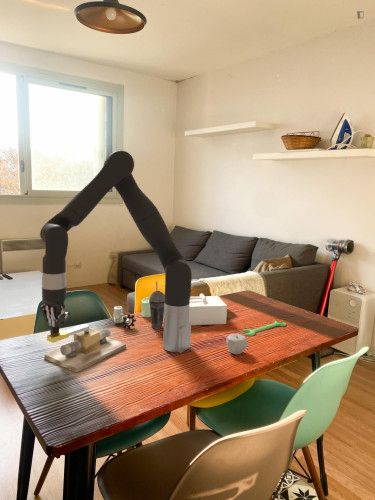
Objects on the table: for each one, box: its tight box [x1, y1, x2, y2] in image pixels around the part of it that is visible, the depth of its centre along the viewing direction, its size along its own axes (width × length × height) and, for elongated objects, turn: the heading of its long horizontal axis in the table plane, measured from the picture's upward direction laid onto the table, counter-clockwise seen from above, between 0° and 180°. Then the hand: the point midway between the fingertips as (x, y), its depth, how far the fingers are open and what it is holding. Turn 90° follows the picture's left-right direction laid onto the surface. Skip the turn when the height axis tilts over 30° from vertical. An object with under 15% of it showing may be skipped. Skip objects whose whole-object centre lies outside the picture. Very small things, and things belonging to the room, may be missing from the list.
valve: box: [112, 305, 137, 330], centre depth 159 cm, size 7×7×12 cm
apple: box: [225, 333, 248, 355], centre depth 136 cm, size 8×8×7 cm
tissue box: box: [189, 293, 228, 326], centre depth 169 cm, size 14×25×11 cm, turn 101°
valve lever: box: [46, 323, 90, 344], centre depth 125 cm, size 15×3×3 cm, turn 144°
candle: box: [141, 296, 151, 318], centre depth 171 cm, size 5×5×8 cm
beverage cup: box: [149, 280, 165, 330], centre depth 157 cm, size 7×7×20 cm
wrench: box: [242, 320, 287, 337], centre depth 161 cm, size 25×2×5 cm
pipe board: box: [43, 327, 127, 373], centre depth 131 cm, size 16×23×8 cm
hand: (54, 335), depth 124 cm, fingers closed
